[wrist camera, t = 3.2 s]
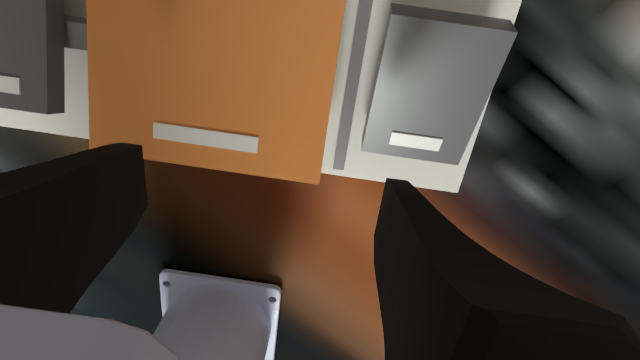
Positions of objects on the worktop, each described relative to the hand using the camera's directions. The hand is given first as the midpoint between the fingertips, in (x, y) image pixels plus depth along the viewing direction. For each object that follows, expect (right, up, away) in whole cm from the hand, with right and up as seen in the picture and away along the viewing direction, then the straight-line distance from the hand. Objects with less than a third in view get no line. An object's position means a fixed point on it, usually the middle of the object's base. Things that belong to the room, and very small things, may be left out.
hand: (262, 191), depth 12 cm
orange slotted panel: (-2, +5, +3) cm, 6 cm away
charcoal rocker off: (-10, +6, +3) cm, 12 cm away
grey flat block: (+6, +4, +3) cm, 7 cm away
